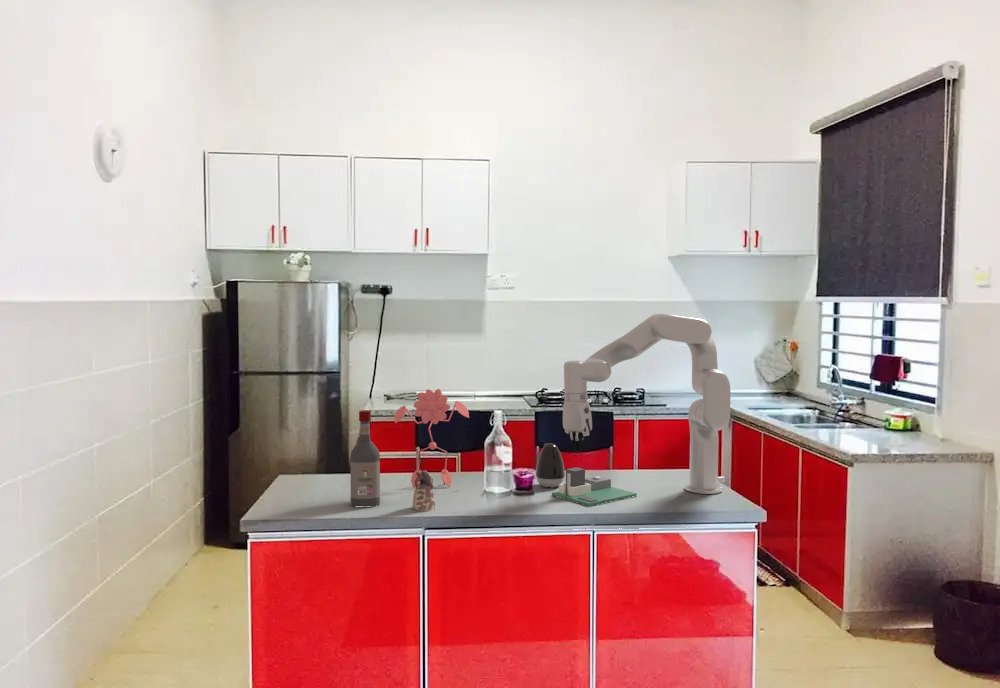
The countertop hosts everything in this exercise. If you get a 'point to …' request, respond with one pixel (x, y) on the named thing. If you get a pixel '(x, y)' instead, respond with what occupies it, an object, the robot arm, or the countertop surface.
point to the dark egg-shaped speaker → (550, 466)
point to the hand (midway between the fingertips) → (577, 451)
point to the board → (598, 496)
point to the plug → (575, 477)
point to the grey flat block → (598, 482)
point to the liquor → (365, 467)
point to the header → (575, 489)
